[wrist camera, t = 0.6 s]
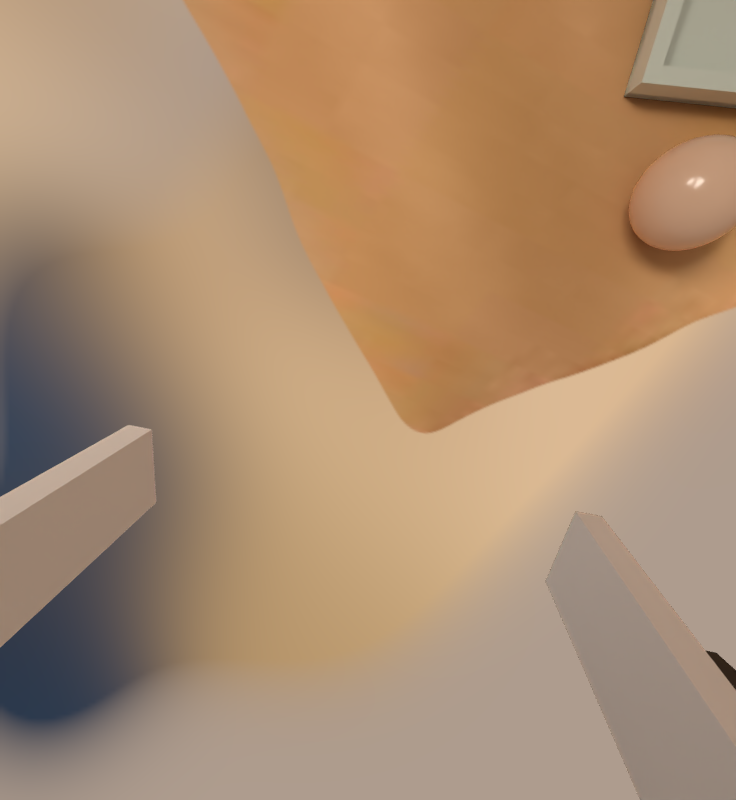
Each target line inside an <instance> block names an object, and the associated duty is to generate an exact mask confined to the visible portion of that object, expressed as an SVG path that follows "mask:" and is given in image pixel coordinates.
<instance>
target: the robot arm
mask: <svg viewBox="0 0 736 800" xmlns="http://www.w3.org/2000/svg"><path fill="white" fill-rule="evenodd" d="M155 503H156V491H155V474H154V457H153V441H152V430H151V429H146V428H141V427H136V426H131V425H128V426H126V427H124V428H122V429H121V430H119V431H117V432H115V433H114V434H112V435H110V436H108V437H106V438H105V439H103V440H101V441H99V442H97V443H96V444H94V445H92V446H90V447H89V448H87V449H85V450H83V451H81V452H80V453H78V454H76V455H74V456H73V457H71V458H69V459H67V460H65V461H64V462H62V463H60V464H58V465H57V466H55V467H53V468H51V469H49V470H48V471H46V472H44V473H42V474H41V475H39V476H37V477H35V478H34V479H32V480H30V481H28V482H26V483H25V484H23V485H21V486H19V487H18V488H16V489H14V490H12V491H10V492H9V493H7V494H5V495H3V496H1V497H0V647H1V646H2V645H3V644H4V643H5V642H7V640H9V639H10V638H11V637H12V636H13V635H14V634H15V633H16V632H17V631H18V630H19V629H20V628H21V627H23V626H24V625H25V624H26V623H27V622H28V621H29V620H30V619H31V618H32V617H33V616H34V615H35V614H37V613H38V612H39V611H40V610H41V609H42V608H43V607H44V606H45V605H46V604H47V603H48V602H50V601H51V600H52V599H53V598H54V597H55V596H56V595H57V594H58V593H59V592H60V591H61V590H62V589H64V587H66V586H67V585H68V584H69V583H70V582H71V581H72V580H73V579H74V578H75V577H76V576H78V574H80V573H81V572H82V571H83V570H84V569H85V568H86V567H87V566H88V565H89V564H90V563H92V562H93V561H94V560H95V559H96V558H97V557H98V556H99V555H100V554H101V553H102V552H103V551H104V550H105V549H107V548H108V547H109V546H110V545H111V544H112V543H113V542H114V541H115V540H116V539H117V538H118V537H120V536H121V535H122V534H123V533H124V532H125V531H126V530H127V529H128V528H129V527H130V526H131V525H132V524H133V523H135V522H136V521H137V520H138V519H139V518H140V517H141V516H142V515H143V514H144V513H145V512H146V511H147V510H149V509H150V508H151V507H152V506H153V505H154V504H155ZM546 583H547V586H548V588H549V590H550V593H551V595H552V597H553V599H554V602H555V604H556V607H557V609H558V611H559V614H560V616H561V618H562V621H563V623H564V625H565V627H566V630H567V632H568V634H569V637H570V639H571V641H572V644H573V646H574V648H575V651H576V653H577V655H578V658H579V660H580V662H581V664H582V667H583V669H584V671H585V674H586V676H587V678H588V681H589V683H590V685H591V687H592V690H593V692H594V694H595V697H596V699H597V701H598V704H599V706H600V708H601V711H602V713H603V715H604V718H605V720H606V722H607V724H608V727H609V729H610V731H611V734H612V736H613V738H614V741H615V743H616V745H617V748H618V750H619V752H620V755H621V757H622V759H623V761H624V764H625V766H626V768H627V771H628V773H629V775H630V778H631V780H632V782H633V785H634V787H635V789H636V791H637V794H638V796H639V798H640V800H736V670H735V669H734V668H733V667H731V666H730V665H729V664H728V663H727V662H726V661H725V660H724V659H722V658H721V657H720V656H719V655H718V654H717V653H714V652H710V651H705V650H704V648H703V647H702V646H701V644H700V643H699V642H698V641H697V639H696V638H695V637H694V635H693V634H692V633H691V632H690V630H689V629H688V628H687V626H686V625H685V624H684V622H683V621H682V620H681V618H680V617H679V616H678V615H677V613H676V612H675V611H674V609H673V608H672V607H671V606H670V604H669V603H668V602H667V600H666V599H665V598H664V596H663V595H662V594H661V593H660V592H659V590H658V589H657V587H656V586H655V585H654V584H653V582H652V581H651V580H650V578H649V577H648V576H647V574H646V573H645V572H644V570H643V569H642V568H641V567H640V565H639V564H638V563H637V561H636V560H635V559H634V558H633V556H632V555H631V554H630V552H629V551H628V550H627V548H626V547H625V546H624V545H623V543H622V542H621V541H620V539H619V538H618V537H617V535H616V534H615V533H614V532H613V530H612V529H611V528H610V527H609V525H608V524H607V522H606V521H605V520H604V519H603V517H602V516H598V515H592V514H587V513H582V512H575V514H574V516H573V519H572V521H571V523H570V525H569V528H568V530H567V532H566V535H565V537H564V539H563V541H562V544H561V546H560V548H559V551H558V553H557V555H556V558H555V560H554V562H553V565H552V567H551V569H550V572H549V574H548V577H547V579H546Z"/></svg>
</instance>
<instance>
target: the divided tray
mask: <svg viewBox="0 0 736 800" xmlns="http://www.w3.org/2000/svg"><path fill="white" fill-rule="evenodd" d="M624 97H633V98H642V99H651V100H661V101H670V102H680V103H689V104H698V105H708V106H717V107H727V108H736V0H653V3H652V6H651V9H650V12H649V16H648V19H647V22H646V26H645V29H644V32H643V35H642V39H641V42H640V45H639V49H638V52H637V55H636V58H635V62H634V65H633V68H632V72H631V75H630V78H629V81H628V85H627V88H626V91H625V95H624Z"/></svg>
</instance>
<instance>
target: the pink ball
mask: <svg viewBox="0 0 736 800" xmlns="http://www.w3.org/2000/svg"><path fill="white" fill-rule="evenodd" d="M629 219H630V223H631V226H632V228H633V230H634V232H635V234H636V235H637V236H638V237H639V238H640V239H641V240H642V241H644V242H645V243H646V244H648V245H650V246H652V247H655V248H658V249H662V250H670V251H680V250H688V249H693V248H697V247H700V246H703V245H706V244H708V243H711V242H713V241H715V240H717V239H718V238H720V237H722V236H724V235H725V234H727V233H728V232H729V231H731V230H732V229H733V228H734V227H736V137H735V136H730V135H718V134H715V135H707V136H701V137H697V138H694V139H691V140H688V141H685V142H683V143H681V144H679V145H677V146H675V147H673V148H671V149H670V150H668V151H667V152H665V153H664V154H663V155H661V156H660V157H659V158H658V159H656V160H655V161H654V162H653V163H652V164H651V165H650V166H649V167H648V168H647V169H646V171H645V172H644V173H643V174H642V176H641V177H640V179H639V180H638V182H637V184H636V186H635V187H634V190H633V192H632V195H631V199H630V203H629Z"/></svg>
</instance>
